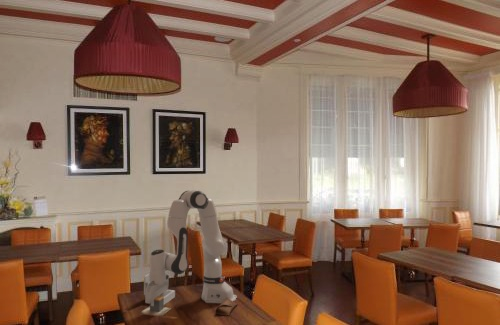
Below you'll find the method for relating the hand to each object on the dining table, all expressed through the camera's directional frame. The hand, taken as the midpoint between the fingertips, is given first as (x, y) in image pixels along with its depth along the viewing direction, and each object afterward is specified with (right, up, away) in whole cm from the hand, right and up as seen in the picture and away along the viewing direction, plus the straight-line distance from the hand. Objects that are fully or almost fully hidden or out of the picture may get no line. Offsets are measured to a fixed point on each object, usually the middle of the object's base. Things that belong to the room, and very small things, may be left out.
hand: (156, 302), depth 224 cm
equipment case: (-2, -5, +16) cm, 17 cm away
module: (0, -4, 0) cm, 4 cm away
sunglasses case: (+40, -6, +5) cm, 41 cm away
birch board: (0, -5, 0) cm, 5 cm away
